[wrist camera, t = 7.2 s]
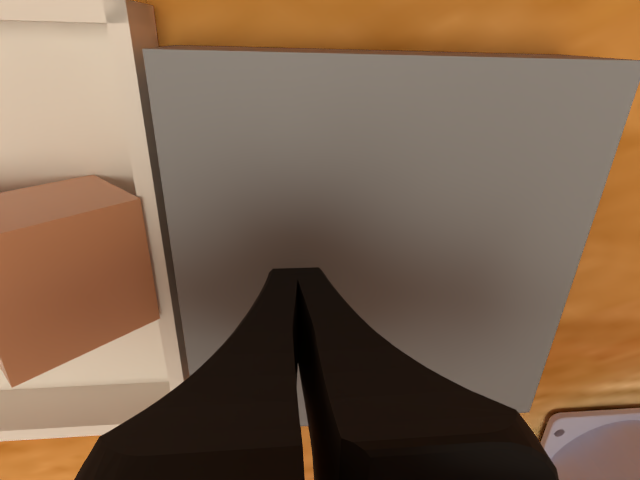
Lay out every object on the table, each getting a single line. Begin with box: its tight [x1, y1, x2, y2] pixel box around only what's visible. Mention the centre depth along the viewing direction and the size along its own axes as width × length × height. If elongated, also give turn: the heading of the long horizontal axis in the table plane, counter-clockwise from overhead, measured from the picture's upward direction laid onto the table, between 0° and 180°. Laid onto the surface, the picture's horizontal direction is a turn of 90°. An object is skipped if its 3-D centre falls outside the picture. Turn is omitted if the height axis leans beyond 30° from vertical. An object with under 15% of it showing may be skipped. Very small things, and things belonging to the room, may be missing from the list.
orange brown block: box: [0, 175, 160, 388], centre depth 12 cm, size 4×4×3 cm
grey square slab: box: [142, 45, 640, 426], centre depth 14 cm, size 12×12×4 cm
